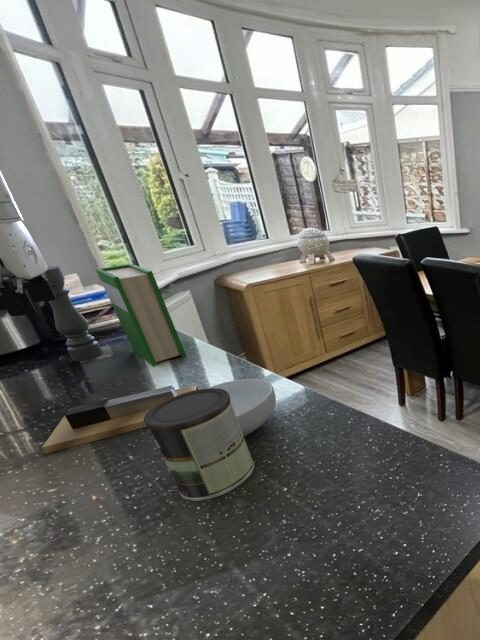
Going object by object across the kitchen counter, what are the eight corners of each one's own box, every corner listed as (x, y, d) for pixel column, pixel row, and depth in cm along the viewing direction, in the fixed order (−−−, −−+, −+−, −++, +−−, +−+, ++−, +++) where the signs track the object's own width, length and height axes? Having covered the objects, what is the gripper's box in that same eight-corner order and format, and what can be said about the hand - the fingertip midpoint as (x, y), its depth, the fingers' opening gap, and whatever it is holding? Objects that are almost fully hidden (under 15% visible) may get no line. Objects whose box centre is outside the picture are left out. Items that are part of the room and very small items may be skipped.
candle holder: (66, 360, 109) (18, 271, 99) (91, 351, 114) (48, 266, 104) (84, 361, 108) (37, 271, 98) (109, 352, 113) (67, 266, 103)
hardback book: (186, 356, 109) (151, 271, 99) (153, 366, 104) (112, 277, 94) (165, 342, 119) (131, 263, 109) (133, 351, 113) (95, 269, 103)
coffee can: (170, 510, 58) (130, 433, 53) (190, 467, 67) (158, 396, 61) (249, 489, 62) (220, 414, 56) (259, 450, 71) (234, 382, 65)
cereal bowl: (234, 403, 86) (223, 375, 83) (300, 410, 82) (292, 381, 79) (155, 454, 70) (139, 422, 68) (233, 465, 67) (219, 432, 64)
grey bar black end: (178, 396, 86) (172, 384, 85) (176, 403, 84) (170, 390, 82) (77, 421, 78) (69, 408, 77) (72, 429, 76) (64, 415, 74)
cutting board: (45, 454, 71) (41, 447, 71) (67, 422, 81) (63, 416, 80) (194, 414, 82) (191, 408, 82) (198, 390, 91) (196, 384, 91)
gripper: (-6, 216, 63) (45, 316, 70) (38, 209, 77) (77, 293, 83) (-79, 219, 60) (-18, 324, 66) (-20, 211, 73) (26, 299, 80)
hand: (35, 307), depth 75 cm, fingers open, 9 cm apart
